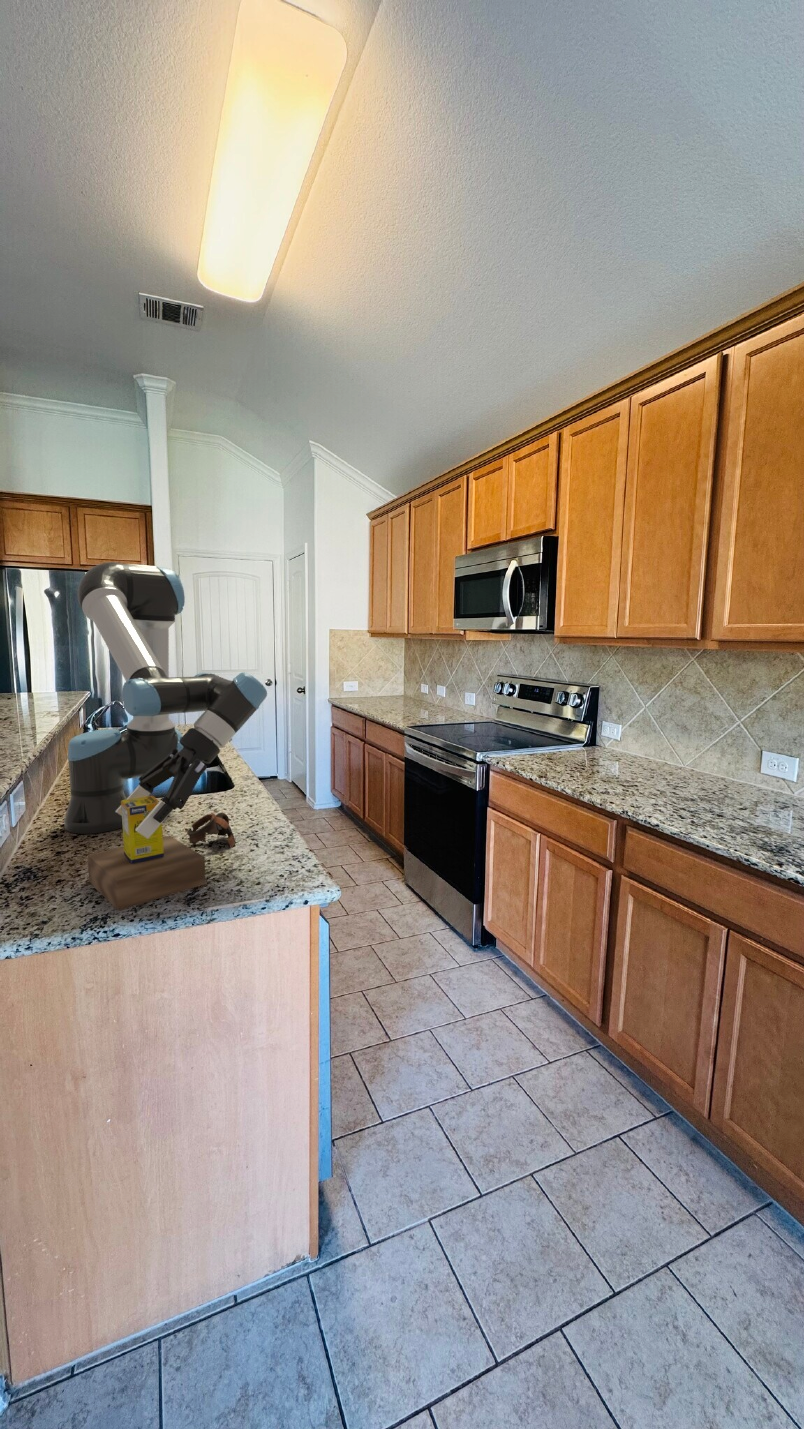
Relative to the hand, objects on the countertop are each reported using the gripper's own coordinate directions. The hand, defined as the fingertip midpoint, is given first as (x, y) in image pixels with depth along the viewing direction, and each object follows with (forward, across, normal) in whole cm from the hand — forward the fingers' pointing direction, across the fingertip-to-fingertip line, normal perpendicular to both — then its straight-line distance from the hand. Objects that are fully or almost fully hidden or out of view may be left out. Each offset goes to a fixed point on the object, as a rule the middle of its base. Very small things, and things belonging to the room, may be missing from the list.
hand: (130, 824), depth 108 cm
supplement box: (+3, 0, -6) cm, 7 cm away
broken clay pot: (-6, +13, -24) cm, 27 cm away
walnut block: (+7, 0, -11) cm, 13 cm away
